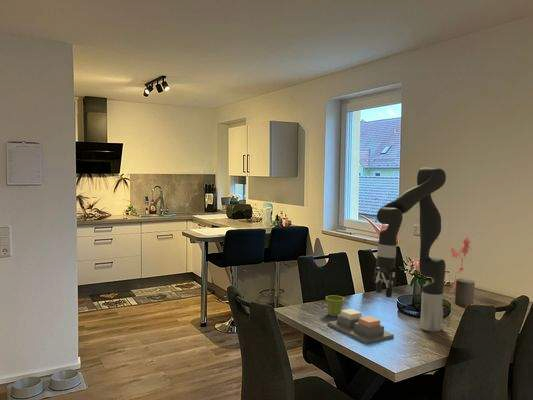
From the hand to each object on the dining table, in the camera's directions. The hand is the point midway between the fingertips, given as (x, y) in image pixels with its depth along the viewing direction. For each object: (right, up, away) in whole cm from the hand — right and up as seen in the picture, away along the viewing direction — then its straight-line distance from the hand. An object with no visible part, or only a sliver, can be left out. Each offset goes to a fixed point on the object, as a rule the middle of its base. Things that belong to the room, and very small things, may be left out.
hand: (383, 294), depth 185 cm
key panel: (-6, -20, +17) cm, 27 cm away
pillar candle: (+63, -20, +66) cm, 93 cm away
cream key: (-9, -16, +22) cm, 29 cm away
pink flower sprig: (+73, -18, +91) cm, 118 cm away
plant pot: (-14, -19, +41) cm, 47 cm away
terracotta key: (-3, -16, +12) cm, 20 cm away
